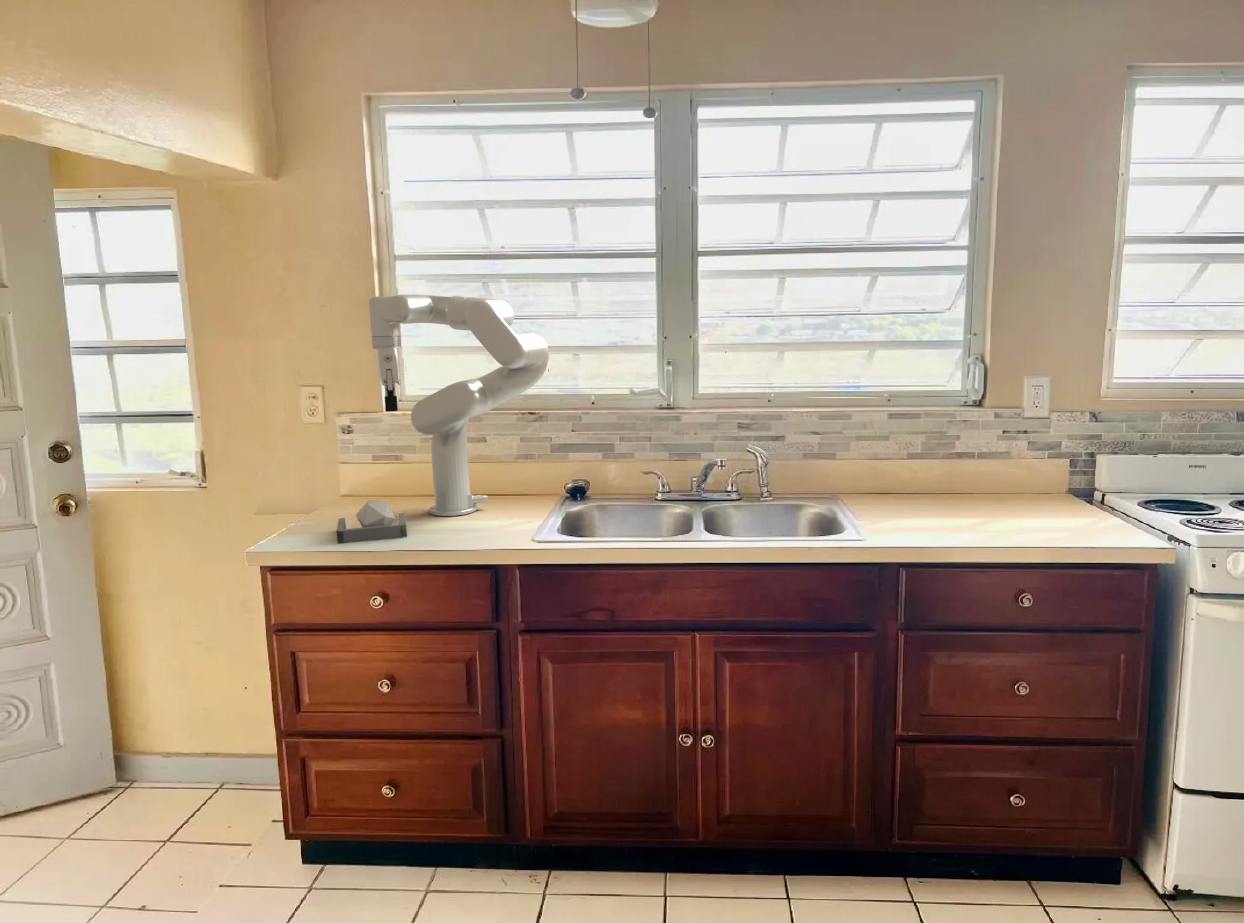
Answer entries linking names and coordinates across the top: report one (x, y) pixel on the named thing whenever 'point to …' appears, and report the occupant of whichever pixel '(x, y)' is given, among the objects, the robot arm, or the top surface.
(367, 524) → the die
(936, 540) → the top surface
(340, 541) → the bay
